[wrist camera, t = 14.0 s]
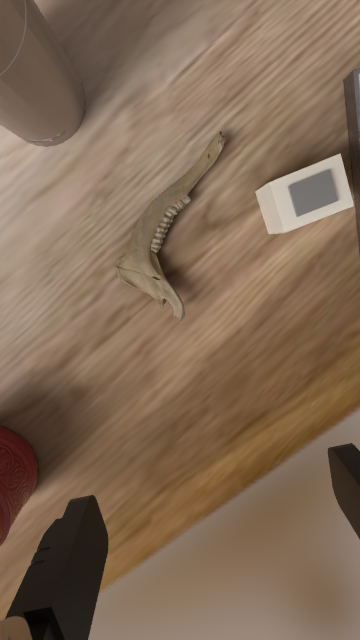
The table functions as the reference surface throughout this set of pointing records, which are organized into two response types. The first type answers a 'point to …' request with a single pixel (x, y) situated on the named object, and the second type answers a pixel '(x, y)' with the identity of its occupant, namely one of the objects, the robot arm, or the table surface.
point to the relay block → (305, 196)
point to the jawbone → (162, 234)
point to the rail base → (354, 134)
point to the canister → (14, 478)
